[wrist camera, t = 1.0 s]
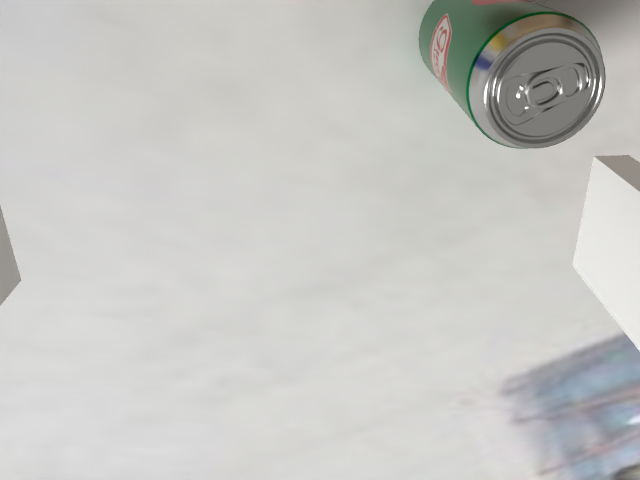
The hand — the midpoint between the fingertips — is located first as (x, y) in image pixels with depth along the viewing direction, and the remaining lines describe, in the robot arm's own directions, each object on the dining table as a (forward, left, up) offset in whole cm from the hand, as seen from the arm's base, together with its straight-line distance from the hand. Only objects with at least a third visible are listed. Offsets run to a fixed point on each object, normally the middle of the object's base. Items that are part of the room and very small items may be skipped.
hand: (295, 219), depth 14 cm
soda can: (0, +9, -21) cm, 23 cm away
